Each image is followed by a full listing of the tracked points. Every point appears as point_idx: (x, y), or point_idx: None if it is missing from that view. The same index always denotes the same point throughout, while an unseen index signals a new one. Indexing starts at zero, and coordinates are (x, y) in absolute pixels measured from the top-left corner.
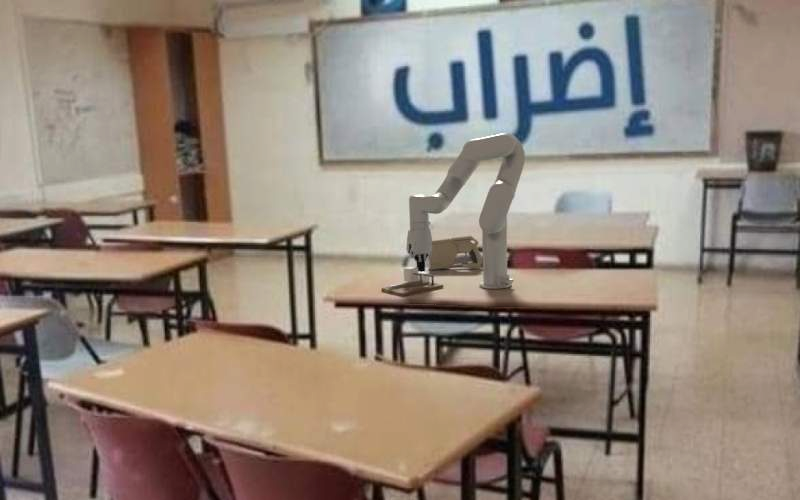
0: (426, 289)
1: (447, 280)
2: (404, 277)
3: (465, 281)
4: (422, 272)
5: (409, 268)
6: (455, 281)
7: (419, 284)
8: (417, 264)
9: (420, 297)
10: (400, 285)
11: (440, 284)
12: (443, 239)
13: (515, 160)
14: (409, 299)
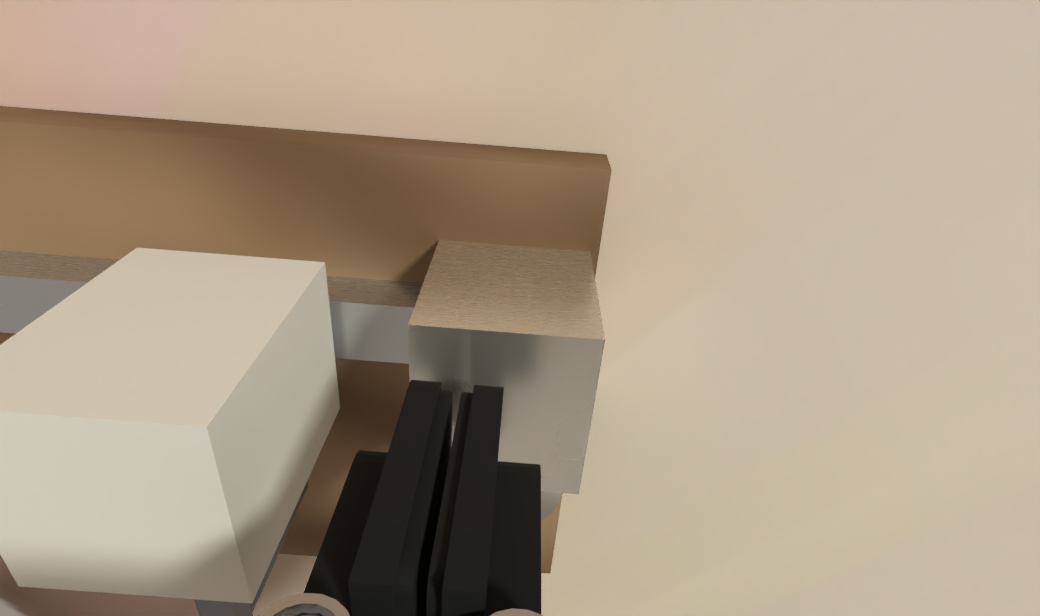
0: (299, 545)
1: (955, 349)
2: (96, 287)
3: (965, 529)
4: (532, 385)
5: (43, 529)
6: (925, 456)
7: (368, 375)
8: (327, 562)
9: (129, 606)
10: (13, 325)
11: (547, 546)
12: None
13: None
14: (3, 588)
